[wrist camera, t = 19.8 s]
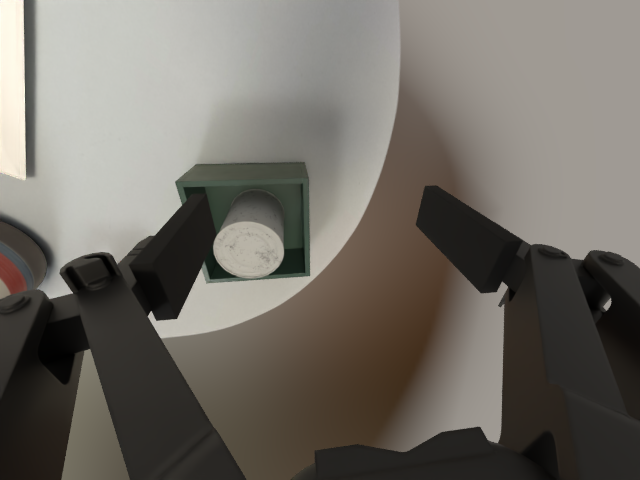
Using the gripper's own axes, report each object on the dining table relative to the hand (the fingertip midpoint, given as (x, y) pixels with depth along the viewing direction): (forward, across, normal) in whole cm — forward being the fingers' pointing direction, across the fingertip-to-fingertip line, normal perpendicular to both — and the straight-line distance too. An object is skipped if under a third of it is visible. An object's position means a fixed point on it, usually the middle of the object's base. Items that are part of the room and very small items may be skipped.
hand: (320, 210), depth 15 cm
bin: (+28, -8, -13) cm, 32 cm away
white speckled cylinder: (+28, -8, -13) cm, 32 cm away
